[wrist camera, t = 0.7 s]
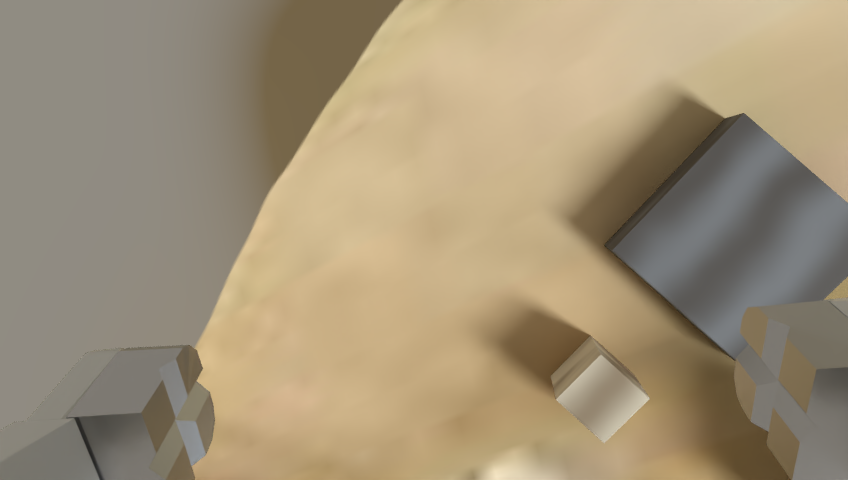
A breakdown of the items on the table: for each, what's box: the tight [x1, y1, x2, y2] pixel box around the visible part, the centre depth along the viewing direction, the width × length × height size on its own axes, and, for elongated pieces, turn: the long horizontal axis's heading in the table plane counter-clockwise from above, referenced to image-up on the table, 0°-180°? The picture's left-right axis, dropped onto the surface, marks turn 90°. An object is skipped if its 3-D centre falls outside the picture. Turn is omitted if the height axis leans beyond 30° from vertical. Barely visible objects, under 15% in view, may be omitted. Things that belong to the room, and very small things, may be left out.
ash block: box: [551, 335, 650, 443], centre depth 50 cm, size 5×5×6 cm
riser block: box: [605, 113, 848, 361], centre depth 49 cm, size 14×14×4 cm
